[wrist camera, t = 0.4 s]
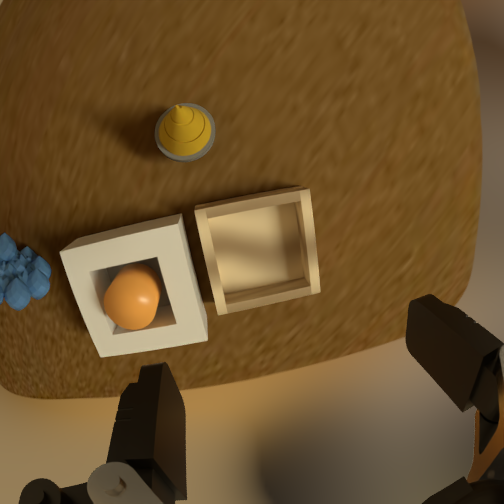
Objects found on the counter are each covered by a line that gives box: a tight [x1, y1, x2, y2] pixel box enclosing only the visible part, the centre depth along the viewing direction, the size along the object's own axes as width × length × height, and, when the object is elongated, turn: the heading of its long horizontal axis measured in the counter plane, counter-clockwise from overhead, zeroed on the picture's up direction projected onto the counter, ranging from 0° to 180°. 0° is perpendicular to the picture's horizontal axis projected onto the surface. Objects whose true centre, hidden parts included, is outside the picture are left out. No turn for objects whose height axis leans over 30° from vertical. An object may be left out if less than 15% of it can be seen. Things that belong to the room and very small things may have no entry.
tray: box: [194, 186, 320, 315], centre depth 32 cm, size 11×11×3 cm
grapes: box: [0, 233, 51, 311], centre depth 24 cm, size 12×7×12 cm, turn 76°
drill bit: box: [155, 103, 215, 162], centre depth 24 cm, size 5×5×10 cm
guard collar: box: [60, 213, 208, 357], centre depth 30 cm, size 12×12×5 cm
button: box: [104, 263, 162, 330], centre depth 29 cm, size 5×5×4 cm
